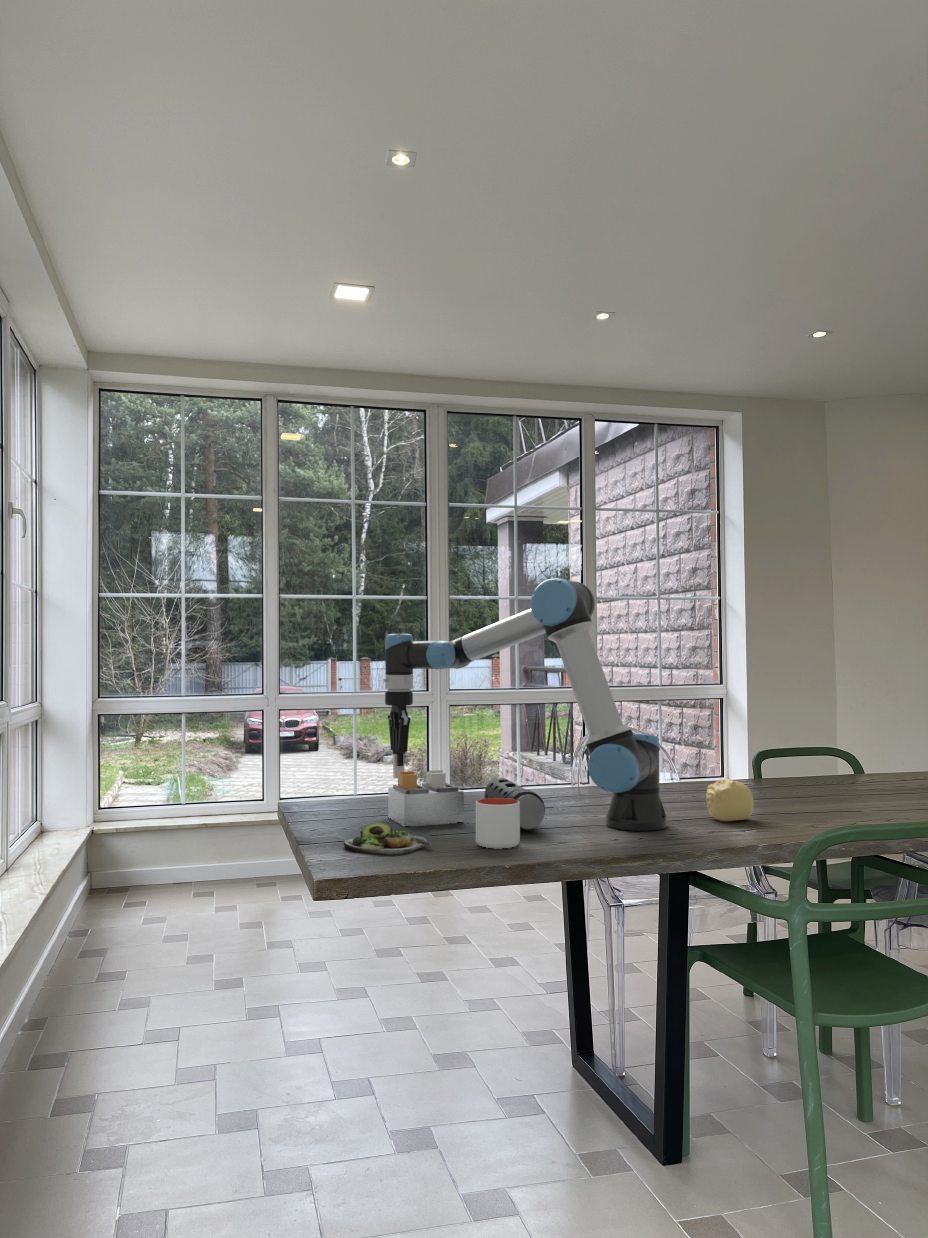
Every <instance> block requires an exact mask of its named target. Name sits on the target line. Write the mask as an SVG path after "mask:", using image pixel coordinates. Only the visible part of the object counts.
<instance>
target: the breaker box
mask: <svg viewBox="0 0 928 1238" xmlns="http://www.w3.org/2000/svg"><path fill="white" fill-rule="evenodd" d="M387 790H388V792H387V793H388V796H387V797H388V798H387V800H388V801H387V803H388V804H387V806H388V807H387V808H388V809H387V813H388V814H387V816H388V817H389V818H388V819H390V818H391V819H392V821H393V820H394V821H393V822H395V823H397V824H398V823H399V825H400V826H402V827H404V828H406V827H405V826H410V827H421V826H423V827H424V826H431V825H432V826H435V825H436V826H437V825H449V824H450V823H451V824H458V823H457V822H464V823H465V821H464V816H465V815H464V809H465V807H464V805H465V804H464V802H465V801H464V799H465V798H464V790H461V789H459V787H457V786H455V785H453V784H450V783H448V782H446V786H443V787H432V786H430V785H427V784H426V783H424V782H422V783H421V785H420V784H418V783H417V788H409V789H404V788H402V787H399V786H398V784H393V786H388V787H387ZM391 819H390V820H391Z"/></svg>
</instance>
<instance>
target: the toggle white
mask: <svg viewBox="0 0 928 1238" xmlns="http://www.w3.org/2000/svg"><path fill="white" fill-rule="evenodd" d="M425 775H426V777H425V778H426V783H425V784H427V785H430V786H432V787H443V786H446V783H447V779H446V778H447V777H446V776H447V775H446V772H444V770H443V769H435V770H434V769H432V770H428V771H426V773H425Z"/></svg>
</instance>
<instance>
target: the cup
mask: <svg viewBox="0 0 928 1238" xmlns="http://www.w3.org/2000/svg"><path fill="white" fill-rule="evenodd" d="M520 837H521V830H520V802H519V801H518V800H514V799H507V798H487V799H485V798H480V799H478V800H476V801H475V842H476V844H477V845H478V846H479V847H481V846H482V847H481V848H483V847H486V848H485V849H488V848H494V849H493V850H503V849H502V848H508V849H513V848H515V847H517V846H518V845H519V844H520V842H521V841H520V840H521V838H520ZM512 847H513V848H512Z"/></svg>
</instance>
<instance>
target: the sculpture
mask: <svg viewBox="0 0 928 1238" xmlns="http://www.w3.org/2000/svg"><path fill="white" fill-rule="evenodd" d="M705 799H706V800H705V801H706V803H707V804H706V808H707V809H708V813H709V814H710V816H711V817H713V818H714V819H715V820H717V821H720V822H734V821H743V820H748V819H750V817H751V816H752V813H753V811H754V805H755V803H754V796H753V793H752V792H751V790H750V789H749V787H748V786H747V785H746V784H744V783H742V782H740V781H736V780H732V779H731V778H726V779H717V780H716V781H714V783H710V784H708V786H707V789H706V794H705Z"/></svg>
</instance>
